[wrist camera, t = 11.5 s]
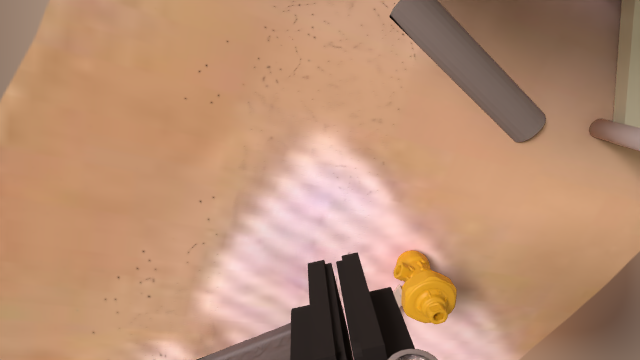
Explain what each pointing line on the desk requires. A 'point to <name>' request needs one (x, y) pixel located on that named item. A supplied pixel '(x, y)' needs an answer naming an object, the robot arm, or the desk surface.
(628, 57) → the peg rack
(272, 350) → the bible
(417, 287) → the pressure relief valve
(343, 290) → the robot arm
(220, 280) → the desk surface
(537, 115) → the half round rod
